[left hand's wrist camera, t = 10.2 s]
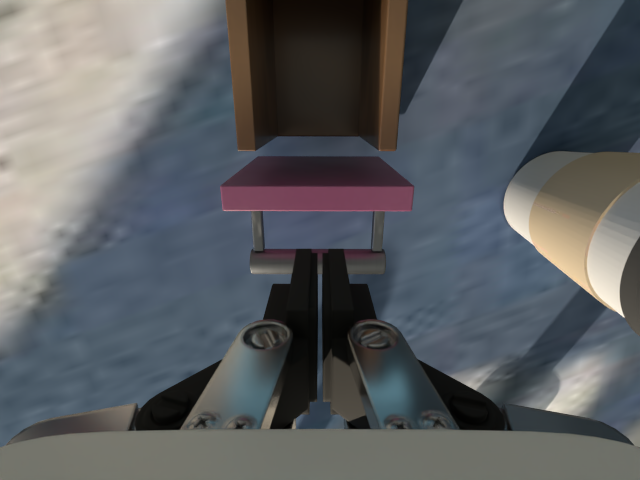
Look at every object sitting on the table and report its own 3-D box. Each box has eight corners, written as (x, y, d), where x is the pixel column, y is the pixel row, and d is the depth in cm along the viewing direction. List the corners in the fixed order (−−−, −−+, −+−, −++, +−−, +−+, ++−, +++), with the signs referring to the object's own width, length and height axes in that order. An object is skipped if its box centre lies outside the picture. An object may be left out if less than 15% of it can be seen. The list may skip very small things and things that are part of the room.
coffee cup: (631, 196, 26) (982, 294, 12) (530, 270, 29) (731, 424, 15) (570, 107, 24) (916, 106, 10) (465, 196, 26) (630, 295, 12)
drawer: (373, 240, 27) (402, 309, 18) (262, 240, 27) (232, 309, 18) (397, -139, 19) (472, -381, 10) (238, -140, 19) (160, -381, 10)
